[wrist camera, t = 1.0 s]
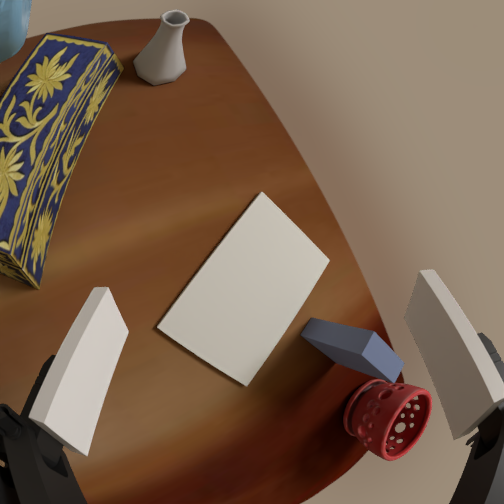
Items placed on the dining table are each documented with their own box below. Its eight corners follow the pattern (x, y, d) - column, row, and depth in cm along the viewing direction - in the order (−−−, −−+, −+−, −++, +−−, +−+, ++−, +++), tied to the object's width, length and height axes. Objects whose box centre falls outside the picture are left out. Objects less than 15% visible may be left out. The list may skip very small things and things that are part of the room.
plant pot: (386, 363, 47) (437, 377, 37) (381, 419, 47) (426, 438, 36) (334, 387, 42) (390, 411, 31) (332, 446, 42) (378, 475, 31)
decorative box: (124, 68, 30) (131, 25, 22) (40, 290, 26) (13, 299, 18) (61, 55, 26) (56, 12, 18) (-28, 264, 22) (-66, 263, 13)
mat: (245, 384, 35) (246, 386, 35) (156, 326, 31) (157, 327, 31) (327, 260, 42) (329, 260, 41) (259, 192, 38) (261, 191, 37)
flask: (151, 94, 32) (165, 45, 23) (124, 61, 30) (131, 11, 21) (194, 72, 34) (218, 26, 25) (166, 41, 32) (183, -5, 23)
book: (335, 362, 42) (394, 383, 31) (300, 335, 39) (361, 354, 28) (345, 346, 43) (404, 363, 32) (311, 317, 40) (374, 330, 29)
